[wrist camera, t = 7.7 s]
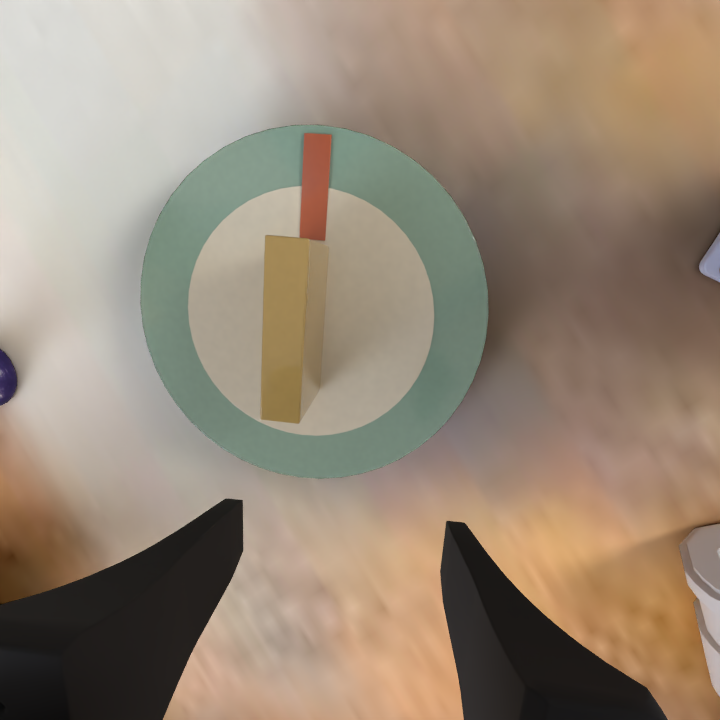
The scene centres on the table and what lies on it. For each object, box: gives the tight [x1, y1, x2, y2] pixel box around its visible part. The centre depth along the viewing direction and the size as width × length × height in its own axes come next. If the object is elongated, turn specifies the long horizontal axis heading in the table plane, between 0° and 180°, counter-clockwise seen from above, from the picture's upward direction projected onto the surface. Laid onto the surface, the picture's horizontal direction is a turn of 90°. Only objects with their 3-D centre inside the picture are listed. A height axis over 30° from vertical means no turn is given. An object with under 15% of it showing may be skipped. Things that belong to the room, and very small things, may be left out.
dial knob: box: [140, 125, 489, 479], centre depth 17 cm, size 17×17×5 cm
